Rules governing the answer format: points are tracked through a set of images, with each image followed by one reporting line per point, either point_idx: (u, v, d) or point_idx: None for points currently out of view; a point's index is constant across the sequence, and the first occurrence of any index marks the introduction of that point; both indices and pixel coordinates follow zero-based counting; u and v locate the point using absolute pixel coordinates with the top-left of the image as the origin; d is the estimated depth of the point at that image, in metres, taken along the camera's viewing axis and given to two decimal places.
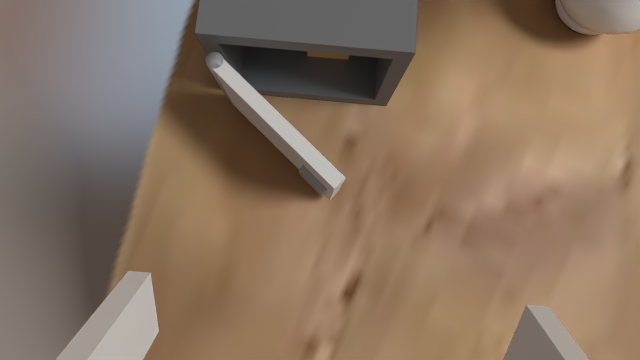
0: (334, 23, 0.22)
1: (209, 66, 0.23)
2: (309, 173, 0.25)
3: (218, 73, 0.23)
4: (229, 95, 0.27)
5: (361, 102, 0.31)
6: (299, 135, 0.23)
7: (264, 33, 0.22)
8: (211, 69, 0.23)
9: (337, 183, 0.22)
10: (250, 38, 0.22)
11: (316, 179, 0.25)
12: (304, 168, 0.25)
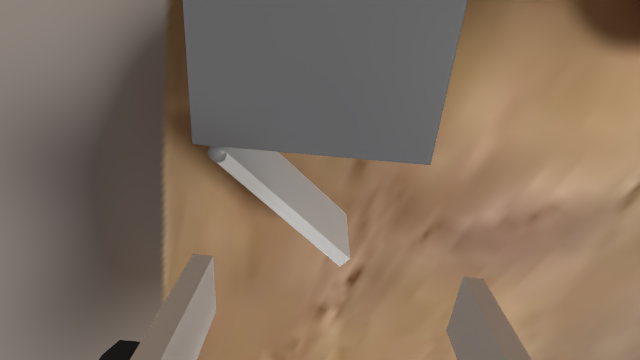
0: (344, 131, 0.20)
1: (213, 159, 0.22)
2: None
3: (223, 167, 0.23)
4: None
5: None
6: (308, 225, 0.24)
7: (267, 144, 0.20)
8: None
9: (342, 262, 0.25)
10: (252, 148, 0.21)
11: None
12: None
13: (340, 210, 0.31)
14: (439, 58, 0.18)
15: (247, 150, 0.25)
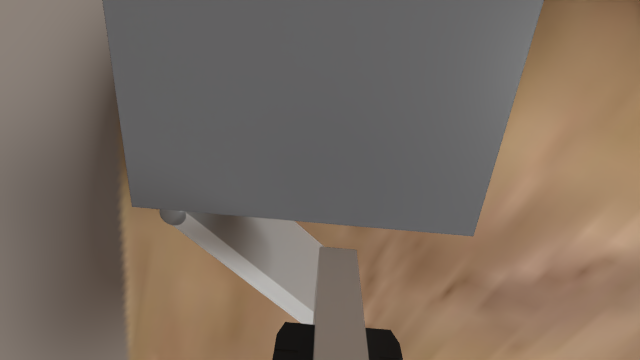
0: (349, 191, 0.14)
1: (168, 221, 0.16)
2: None
3: (182, 231, 0.16)
4: None
5: None
6: (300, 304, 0.18)
7: (239, 207, 0.14)
8: None
9: None
10: (218, 212, 0.14)
11: None
12: None
13: None
14: (494, 88, 0.12)
15: None
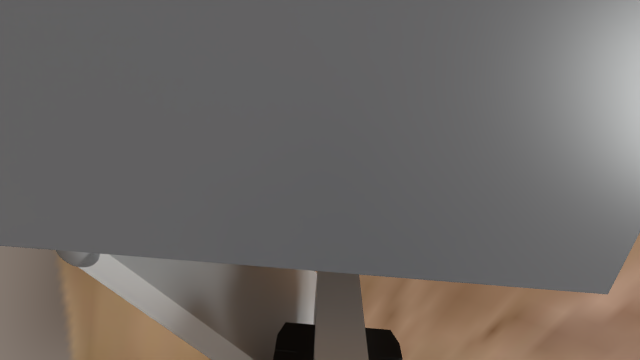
0: (384, 215, 0.07)
1: (70, 260, 0.10)
2: None
3: (96, 276, 0.10)
4: None
5: None
6: None
7: (177, 245, 0.08)
8: None
9: None
10: (142, 253, 0.08)
11: None
12: None
13: None
14: None
15: None
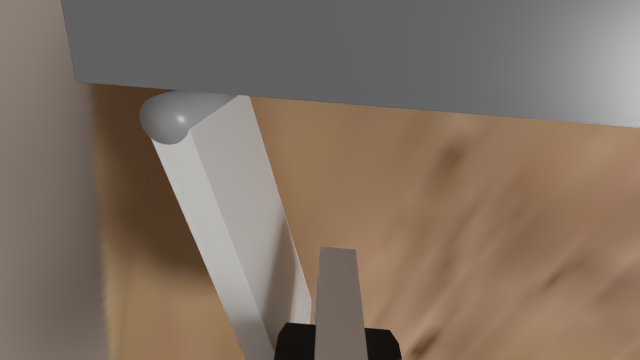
0: (552, 33, 0.06)
1: (146, 128, 0.09)
2: None
3: (162, 157, 0.09)
4: None
5: None
6: (268, 349, 0.11)
7: (304, 79, 0.07)
8: None
9: None
10: (259, 95, 0.07)
11: None
12: None
13: (307, 294, 0.18)
14: None
15: (229, 141, 0.11)
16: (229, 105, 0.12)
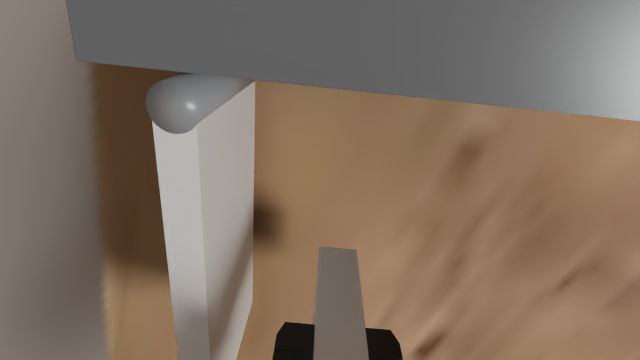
0: (619, 18, 0.05)
1: (150, 108, 0.08)
2: None
3: (157, 143, 0.08)
4: None
5: None
6: (205, 356, 0.11)
7: (334, 64, 0.06)
8: None
9: None
10: (283, 80, 0.06)
11: None
12: None
13: (250, 296, 0.18)
14: None
15: (227, 137, 0.10)
16: (236, 98, 0.11)
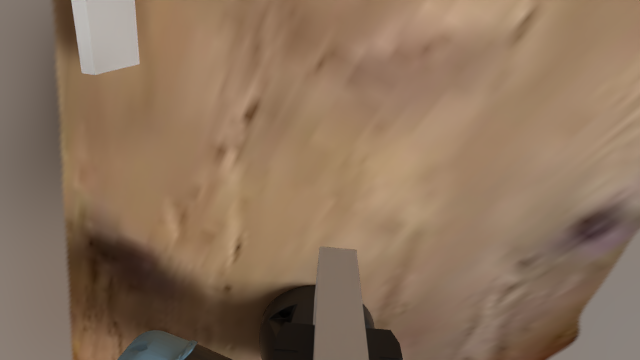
0: None
1: None
2: None
3: None
4: None
5: None
6: (85, 16, 0.25)
7: None
8: None
9: (86, 71, 0.26)
10: None
11: None
12: None
13: (136, 56, 0.32)
14: None
15: None
16: None
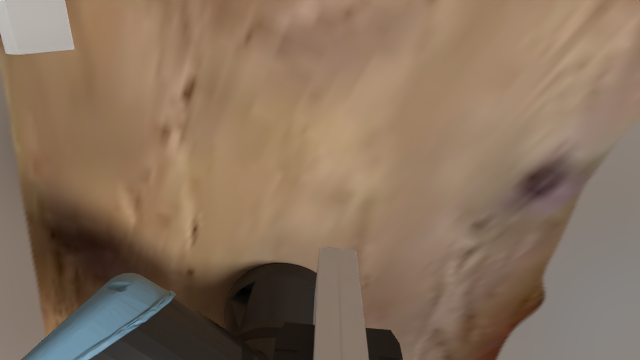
0: None
1: None
2: None
3: None
4: None
5: None
6: None
7: None
8: None
9: (10, 52, 0.28)
10: None
11: None
12: None
13: (70, 41, 0.33)
14: None
15: None
16: None
